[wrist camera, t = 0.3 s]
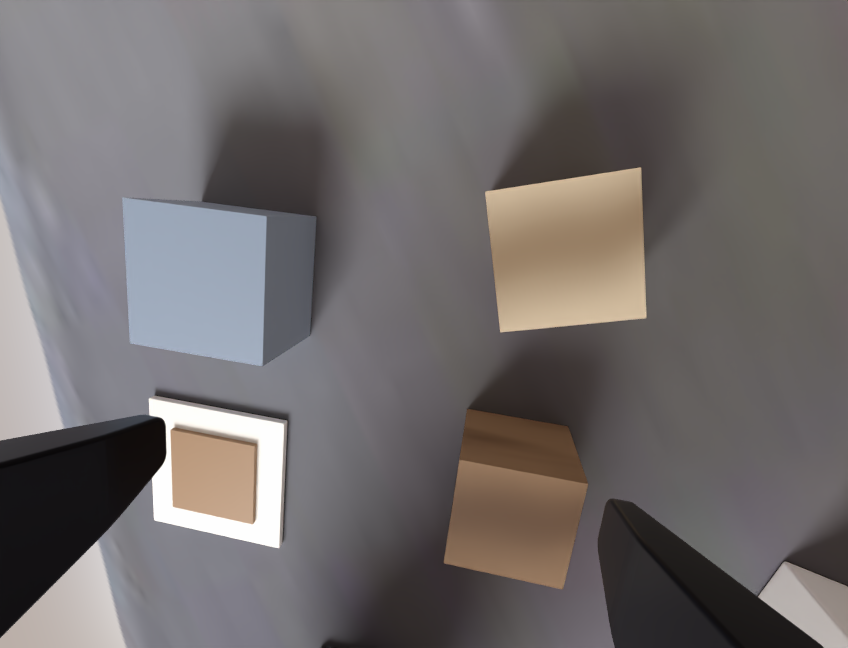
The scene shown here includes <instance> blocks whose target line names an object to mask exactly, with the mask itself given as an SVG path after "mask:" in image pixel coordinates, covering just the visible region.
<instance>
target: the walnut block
mask: <svg viewBox="0 0 848 648" xmlns="http://www.w3.org/2000/svg"><path fill="white" fill-rule="evenodd" d="M587 487H588V482H587V479H586V476H585V474H584V471H583V468H582V465H581V462H580V459H579V456H578V453H577V451H576V448H575V445H574V442H573V439H572V436H571V433H570V430H569V428H568V426H563V425H557V424H552V423H546V422H540V421H534V420H529V419H523V418H517V417H512V416H506V415H500V414H494V413H489V412H483V411H477V410H472V409H467V413H466V420H465V426H464V433H463V439H462V446H461V452H460V459H459V465H458V471H457V478H456V484H455V491H454V497H453V504H452V511H451V517H450V524H449V531H448V537H447V544H446V551H445V557H444V563H445V564H450V565H454V566H459V567H463V568H468V569H472V570H477V571H481V572H486V573H490V574H495V575H499V576H504V577H509V578H513V579H518V580H522V581H527V582H531V583H536V584H540V585H545V586H549V587H554V588H558V589H563V587H564V583H565V578H566V574H567V570H568V566H569V562H570V558H571V554H572V549H573V545H574V541H575V537H576V533H577V529H578V524H579V520H580V516H581V512H582V508H583V504H584V500H585V495H586V491H587Z"/></svg>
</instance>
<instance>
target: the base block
mask: <svg viewBox="0 0 848 648" xmlns="http://www.w3.org/2000/svg"><path fill="white" fill-rule="evenodd" d="M122 200H123V219H124V238H125V257H126V277H127V296H128V315H129V335H130V343H131V344H137V345H143V346H148V347H154V348H160V349H166V350H172V351H177V352H183V353H189V354H195V355H200V356H206V357H212V358H218V359H224V360H229V361H235V362H241V363H247V364H253V365H258V366H264V365H265V364H267V363H268V362H270V361H271V360H273V359H274V358H276V357H278V356H279V355H281V354H282V353H284V352H285V351H287V350H288V349H290V348H291V347H293V346H295V345H296V344H298V343H299V342H301V341H302V340H304V339H305V338H307V337H308V336H310V326H311V308H312V290H313V272H314V253H315V235H316V217H317V216H309V215H302V214H294V213H286V212H278V211H270V210H263V209H255V208H247V207H239V206H231V205H224V204H216V203H208V202H198V201H179V200H160V199H141V198H122Z"/></svg>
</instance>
